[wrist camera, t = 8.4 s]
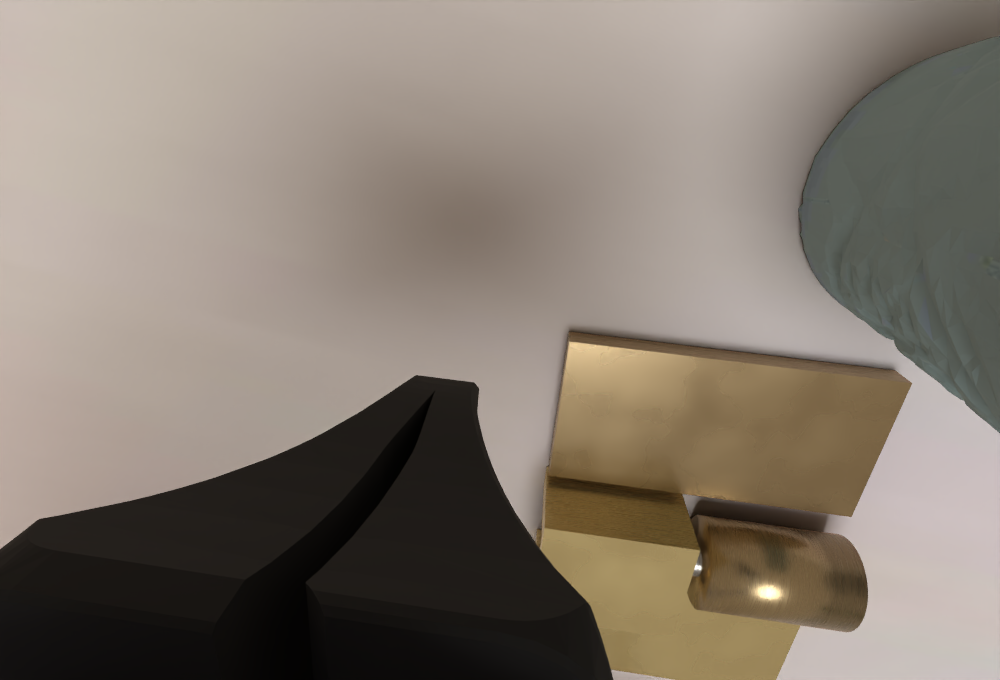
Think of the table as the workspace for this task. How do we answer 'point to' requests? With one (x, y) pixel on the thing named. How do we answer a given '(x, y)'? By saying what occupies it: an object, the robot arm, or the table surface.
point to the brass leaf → (650, 584)
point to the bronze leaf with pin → (736, 460)
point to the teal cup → (919, 218)
